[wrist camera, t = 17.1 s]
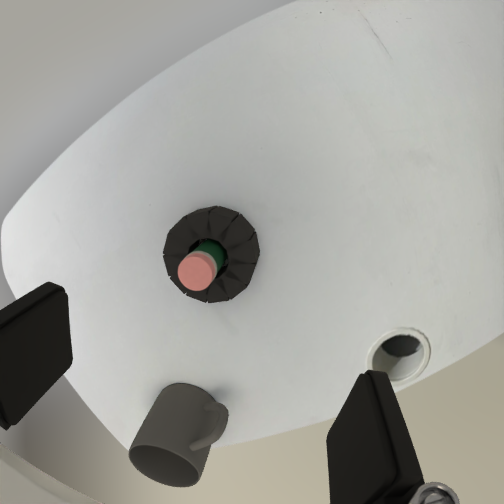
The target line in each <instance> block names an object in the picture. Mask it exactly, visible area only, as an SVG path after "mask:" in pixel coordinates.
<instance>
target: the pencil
mask: <svg viewBox="0 0 504 504" xmlns="http://www.w3.org/2000/svg"><path fill="white" fill-rule="evenodd" d="M227 258H228V254H227V250H226V249H225V248H224V247H223V246H222V245H221V243H220V242H219V241H216V240H213V239H210V238H207V239H206V240H205V241H204V242H203V243H201V244H200V245H199V246H198V247H197V248H196V249H195V250H194V251H193V252H191V253H190V254H188V255H187V256H186V257H185V258H184V260H183V261H182V262H181V263H180V265H179V267H178V277H179V279H180V281H181V283H182V284H183V285H184V286H185V287H186V288H188V289H190V290H194V291H200V290H203V289H205V288H207V287H208V286H209V285H210V283H211V282H212V281H213V280H214V278H215V277H216V274H217V273H218V271H219V270H220V268H221V267H222V265H223V264H224V262H225V261H226V259H227Z"/></svg>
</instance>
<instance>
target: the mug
mask: <svg viewBox="0 0 504 504" xmlns="http://www.w3.org/2000/svg"><path fill="white" fill-rule="evenodd" d="M228 416H229V414H228V409H227V408H226V407H225V406H224V405H222V404H220V403H217V402H215V400H214V399H213V398H212V397H211V396H210V395H209V394H208V393H207V392H205V391H204V390H202V389H200V388H198V387H195V386H193V385H189V384H173V385H170V386H168V387H166V388H165V389H163V391H162V392H161V393H160V394H159V396H158V397H157V399H156V401H155V402H154V404H153V406H152V408H151V409H150V411H149V413H148V415H147V416H146V418H145V420H144V422H143V424H142V425H141V427H140V429H139V431H138V433H137V435H136V437H135V439H134V441H133V443H132V445H131V447H130V449H129V458H130V461H131V462H132V464H133V465H134V466H135V468H136V469H137V470H139V471H140V472H141V473H142V474H144V475H145V476H147V477H148V478H150V479H152V480H154V481H157V482H159V483H162V484H165V485H168V486H173V487H189V486H193V485H195V484H196V483H197V482H198V481H199V480H200V477H201V475H202V472H203V470H204V467H205V463H206V460H207V457H208V454H209V451H210V447H211V444H212V443H214V442H216V441H217V440H218V439H219V438H220V437H221V435H222V434H223V432H224V430H225V428H226V425H227V421H228Z"/></svg>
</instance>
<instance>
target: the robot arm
mask: <svg viewBox="0 0 504 504" xmlns="http://www.w3.org/2000/svg"><path fill="white" fill-rule="evenodd" d="M72 361H73V355H72V346H71V335H70V323H69V307H68V295H67V293H65V289H64V288H63V287H62V286H59V285H57V284H54V283H52V282H46V283H44V284H43V285H41V286H39V287H38V288H36V289H34V290H33V291H31V292H29V293H28V294H26V295H24V296H23V297H21V298H19V299H18V300H16V301H14V302H13V303H11V304H9V305H8V306H6V307H5V308H3V309H1V310H0V426H1V427H2V428H4V429H5V430H8V429H9V427H10V426H11V425H16V424H17V423H18V422H19V421H20V420H21V419H22V418H23V416H25V414H26V413H27V412H28V411H29V410H30V409H31V408H32V407H33V406H34V404H36V402H37V401H38V400H39V399H40V398H41V397H42V396H43V395H44V394H45V393H46V392H47V391H48V390H49V389H50V387H51V386H52V385H53V384H54V383H55V382H56V381H57V380H58V379H59V378H60V377H61V376H62V375H63V374H64V373H65V372H66V371H67V370H68V369H69V368H70V366H71V364H72ZM326 443H327V456H328V471H329V487H330V504H460V503H459V499H458V497H457V495H456V493H455V492H454V491H453V490H452V489H451V488H450V487H448V486H447V485H445V484H442V483H439V482H430V483H426V484H425V482H424V479H423V475H422V471H421V468H420V465H419V462H418V459H417V456H416V453H415V449H414V446H413V444H412V441H411V438H410V435H409V432H408V429H407V426H406V423H405V420H404V418H403V415H402V412H401V410H400V407H399V404H398V401H397V398H396V396H395V393H394V391H393V388H392V385H391V383H390V380H389V378H388V375H387V373H385V372H380V371H374V370H367V371H366V372H365V374H360V375H359V376H358V378H357V380H356V382H355V384H354V386H353V388H352V390H351V392H350V394H349V396H348V398H347V400H346V401H345V403H344V405H343V407H342V409H341V411H340V413H339V414H338V416H337V418H336V420H335V422H334V423H333V425H332V427H331V428H330V430H329V432H328V435H327V440H326ZM0 504H103V503H100V502H98V501H96V500H94V499H92V498H90V497H88V496H86V495H84V494H82V493H80V492H78V491H76V490H74V489H72V488H70V487H68V486H67V485H65V484H63V483H61V482H59V481H58V480H56V479H54V478H53V477H51V476H49V475H47V474H46V473H44V472H42V471H41V470H39V469H38V468H36V467H34V466H33V465H31V464H30V463H28V462H27V461H25V460H24V459H22V458H21V457H20V456H18V455H17V454H15V453H14V452H12V451H11V450H10V449H8V448H7V447H6V446H4V445H3V444H1V443H0Z"/></svg>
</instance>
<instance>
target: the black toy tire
mask: <svg viewBox="0 0 504 504" xmlns="http://www.w3.org/2000/svg"><path fill="white" fill-rule="evenodd" d="M238 215H239V212H236V211H233V210H230V209H227V208H224V207H221V206H219V207H218V206H213V207H208V208H203V209H199V210H196V211H194V212H192V213H190V214H188V215H186V216H184V217H183V218H182V219H181V220H180V221H179V222H178V223H177V224H176V225H175V226H174V227H173V228H172V229H171V230H170V231H169V233H168V235H167V239H166V243H165V247H164V251H163V254H165V255H163V258H164V262H165V265H166V269H167V273H168V276H171V277H170V279H171V280H172V281H173V282H174V284H175V285H176V286H177V287H178V288H179V289H180V290H181V291H182V292H183V293H184V294H185V293H186V292H187V293H186V295H187V296H189V297H192V298H194V299H197V300H200V301H202V302H205V303H206V302H207V301H208V303H214V302H221V301H228V300H229V299H233V298H234V297H235V296H236V295H238V294H239V293H240V292H242V291H243V290H244V289H245V288H247V286H248V285H249V283H250V280H251V277H252V275H253V272H254V269H255V266H256V263H257V260H258V257H259V255H260V254H259V252H260V249H259V244H258V239H257V234H256V232H254V230H255V229H254V228H253V227H252V226H251V225H250V223H249V222H248V221H247V220H246V219H245V218H244V217H243V215H242V214H240V215H239V216H238ZM205 238H210V239H213V240H216V241H219V242H220V243H221V245H222V246H223V247H224V248H225V249H226V250H227V254H228V259H229V263H228V264H227V265H226V266H222V267H221V268H220V270H219V271H218V273H217V274H216V277H215V278H214V280H213V281H212V282H211V283H210V285H209V286H208V287H207V288H205V289H203V290H200V291H194V290H190V289H188V288H186V287H185V286H184V285H183V284H182V283H181V281H180V279H179V277H178V267H179V265H180V263H181V262H182V261H183V260H184V258H185V257H186V256H187V255H188V254H190V253H191V252H193V251H194V250H195V249H196V248H197V247H198V246H199V242H200V239H205Z"/></svg>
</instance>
